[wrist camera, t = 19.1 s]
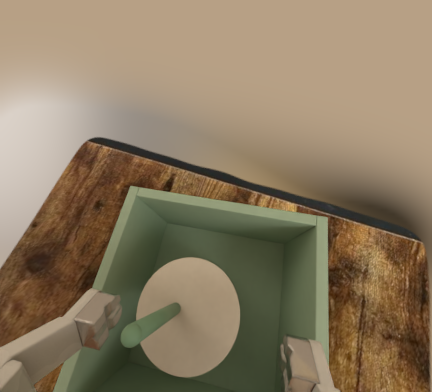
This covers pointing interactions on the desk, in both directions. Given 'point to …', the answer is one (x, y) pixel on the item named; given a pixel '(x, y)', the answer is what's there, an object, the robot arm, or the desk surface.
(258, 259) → the bin
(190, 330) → the paper cup
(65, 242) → the desk surface
